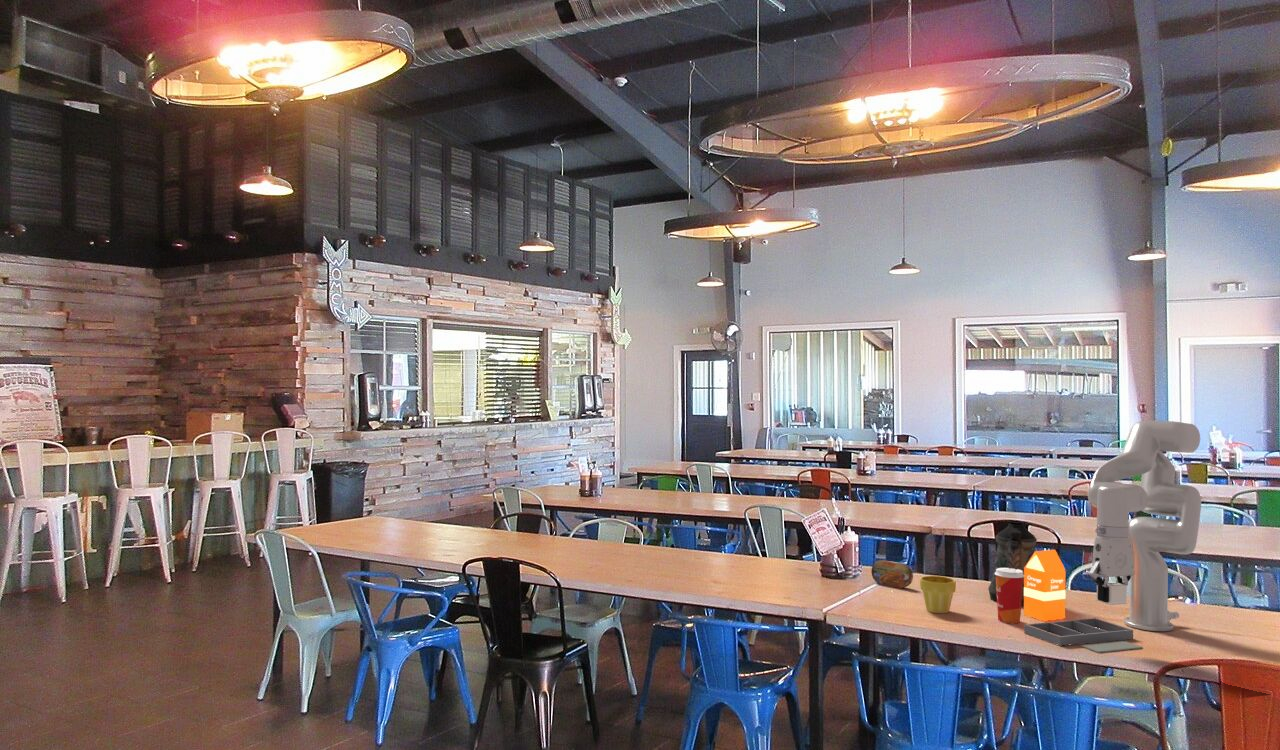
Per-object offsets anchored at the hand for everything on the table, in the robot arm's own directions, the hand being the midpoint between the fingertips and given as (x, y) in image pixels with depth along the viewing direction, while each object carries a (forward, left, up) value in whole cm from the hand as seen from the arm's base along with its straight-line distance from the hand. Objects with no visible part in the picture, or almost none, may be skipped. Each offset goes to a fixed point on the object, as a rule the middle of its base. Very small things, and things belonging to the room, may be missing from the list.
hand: (1111, 599), depth 242 cm
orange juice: (-7, -31, -13) cm, 34 cm away
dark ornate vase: (-13, -49, -13) cm, 52 cm away
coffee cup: (+7, -30, -13) cm, 33 cm away
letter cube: (0, 0, -1) cm, 1 cm away
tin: (+13, -80, -13) cm, 82 cm away
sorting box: (0, -11, -13) cm, 17 cm away
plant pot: (+20, -46, -13) cm, 52 cm away
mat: (0, 0, -13) cm, 13 cm away
